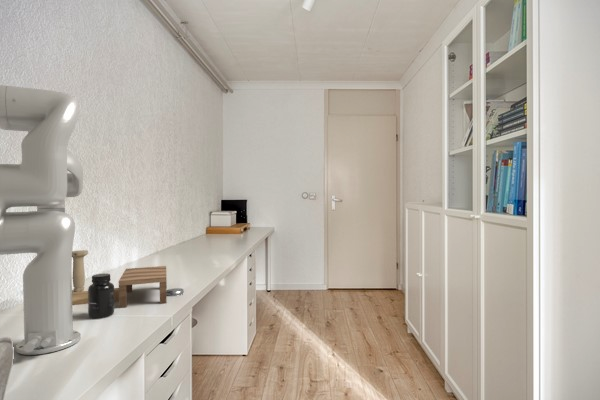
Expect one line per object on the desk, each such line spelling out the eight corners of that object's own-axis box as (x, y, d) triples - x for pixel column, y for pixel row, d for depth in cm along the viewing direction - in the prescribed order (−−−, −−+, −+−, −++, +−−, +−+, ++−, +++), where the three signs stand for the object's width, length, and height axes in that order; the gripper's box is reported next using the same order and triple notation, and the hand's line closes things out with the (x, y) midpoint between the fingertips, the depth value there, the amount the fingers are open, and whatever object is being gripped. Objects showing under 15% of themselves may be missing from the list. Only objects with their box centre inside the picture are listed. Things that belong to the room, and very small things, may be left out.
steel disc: (184, 295, 130) (184, 291, 130) (166, 297, 128) (166, 293, 128) (182, 291, 136) (182, 287, 136) (165, 293, 133) (165, 289, 133)
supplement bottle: (85, 320, 105) (84, 278, 104) (91, 313, 111) (91, 273, 111) (111, 317, 106) (110, 276, 106) (116, 310, 113) (116, 271, 113)
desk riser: (166, 303, 120) (165, 277, 120) (119, 308, 116) (118, 281, 116) (166, 287, 141) (166, 265, 141) (126, 291, 136) (126, 268, 136)
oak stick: (125, 300, 126) (124, 288, 126) (39, 309, 116) (39, 297, 116) (125, 298, 128) (125, 287, 128) (41, 307, 119) (41, 295, 119)
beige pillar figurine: (85, 292, 136) (84, 251, 136) (66, 293, 135) (65, 252, 135) (90, 289, 141) (90, 250, 141) (72, 290, 140) (72, 250, 140)
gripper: (57, 213, 112) (58, 270, 111) (71, 213, 128) (72, 263, 128) (27, 214, 109) (29, 272, 109) (46, 214, 126) (47, 265, 125)
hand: (52, 267), depth 118 cm, fingers open, 9 cm apart
